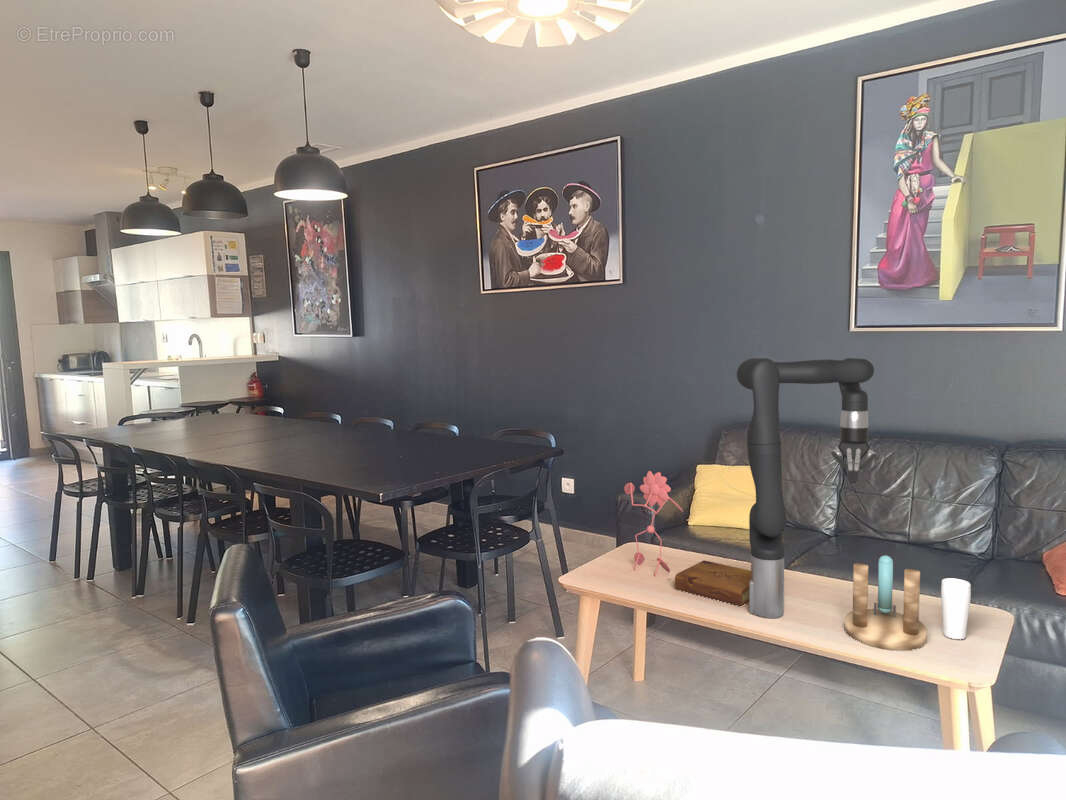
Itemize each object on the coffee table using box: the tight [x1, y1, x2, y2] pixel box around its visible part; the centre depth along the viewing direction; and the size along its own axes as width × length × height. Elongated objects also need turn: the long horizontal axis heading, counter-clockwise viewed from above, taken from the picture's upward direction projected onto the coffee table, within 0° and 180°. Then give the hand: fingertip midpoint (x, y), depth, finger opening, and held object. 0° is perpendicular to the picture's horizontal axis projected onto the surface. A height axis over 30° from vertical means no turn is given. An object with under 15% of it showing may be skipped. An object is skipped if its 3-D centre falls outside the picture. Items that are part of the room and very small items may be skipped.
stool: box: [843, 562, 928, 652], centre depth 187 cm, size 20×20×20 cm
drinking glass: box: [940, 577, 972, 641], centre depth 185 cm, size 7×7×15 cm
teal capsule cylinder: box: [877, 555, 894, 614], centre depth 193 cm, size 4×4×17 cm
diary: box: [674, 560, 751, 607], centre depth 223 cm, size 23×19×6 cm
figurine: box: [623, 470, 684, 581], centre depth 244 cm, size 15×26×35 cm, turn 43°
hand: (853, 482), depth 208 cm, fingers closed
